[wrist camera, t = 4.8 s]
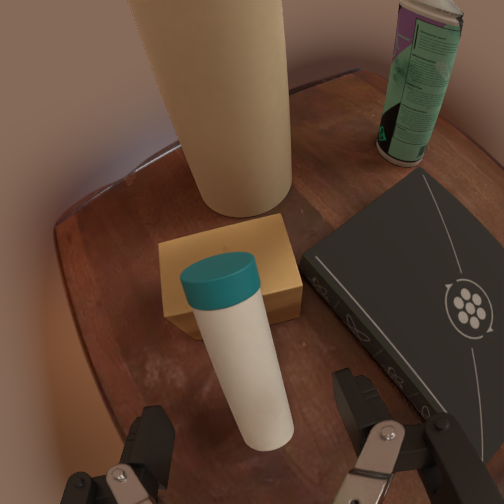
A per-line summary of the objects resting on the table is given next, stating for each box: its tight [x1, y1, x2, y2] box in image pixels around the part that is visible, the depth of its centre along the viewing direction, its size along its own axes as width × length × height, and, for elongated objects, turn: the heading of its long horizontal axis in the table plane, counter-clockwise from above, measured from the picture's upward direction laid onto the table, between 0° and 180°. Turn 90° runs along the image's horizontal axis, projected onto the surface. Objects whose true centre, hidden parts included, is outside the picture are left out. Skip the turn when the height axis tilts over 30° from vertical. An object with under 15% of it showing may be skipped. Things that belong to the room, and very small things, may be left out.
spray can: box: [376, 0, 464, 167], centre depth 20 cm, size 6×6×20 cm
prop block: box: [158, 213, 303, 340], centre depth 21 cm, size 5×8×6 cm, turn 102°
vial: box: [180, 252, 294, 451], centre depth 16 cm, size 11×4×11 cm, turn 12°
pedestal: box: [127, 0, 292, 218], centre depth 18 cm, size 9×9×24 cm
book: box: [299, 167, 504, 465], centre depth 19 cm, size 22×15×3 cm
